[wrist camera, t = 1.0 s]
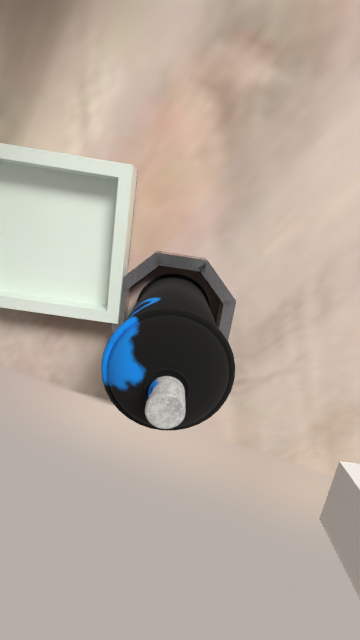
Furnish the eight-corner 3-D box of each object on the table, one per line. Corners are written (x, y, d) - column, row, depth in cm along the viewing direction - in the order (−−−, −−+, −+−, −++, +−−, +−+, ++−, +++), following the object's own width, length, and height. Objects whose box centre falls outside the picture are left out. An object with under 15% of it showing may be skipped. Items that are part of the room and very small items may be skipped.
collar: (123, 245, 31) (118, 246, 29) (238, 263, 32) (243, 265, 30) (113, 353, 35) (108, 362, 32) (217, 368, 35) (220, 377, 33)
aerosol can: (219, 286, 33) (278, 358, 13) (197, 353, 35) (218, 498, 16) (147, 264, 32) (99, 307, 13) (128, 333, 34) (63, 460, 15)
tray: (-17, 146, 29) (-39, 136, 26) (137, 171, 30) (133, 164, 27) (-13, 297, 33) (-31, 302, 30) (122, 316, 34) (117, 323, 31)
